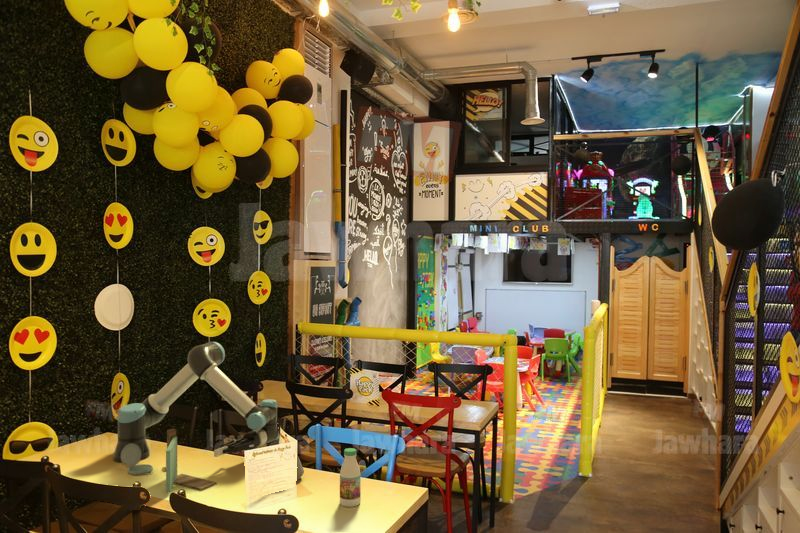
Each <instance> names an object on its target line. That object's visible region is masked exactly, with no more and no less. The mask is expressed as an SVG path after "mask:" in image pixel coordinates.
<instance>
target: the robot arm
mask: <svg viewBox="0 0 800 533" xmlns="http://www.w3.org/2000/svg"><path fill="white" fill-rule="evenodd" d="M225 352H226V351H225V349H224V347H223V346H222V345H221V344H220V343H219V342H217V341H208V342H206V343H204V344H200V345H196V346H194V347H193V348H191V349H190V350H189V352H188V354H187V364H185V365H184V366H183V367H182V368H181V369H180V370H179V371H178V372H177V373H176V374H175V375H174V376H173V377H172V378H171V379H170V380H169V381H168V382H167V383H165V385H164V386H163V387H162V388H160V389H159V390H158V391H157V392H156V393H152V394H150V395H148V396H147V398H145V399H144V400H143V401H142V402H141V403H140V402H134V403H130V404H125V405H122V406H120V408H119V409H118V410H117V416H116V420H117V443H116V446H115V449H114V451H113V457H112V458H113V461H115V462H117V463H122V461H121V452H122V449H123V448H124V447H125V446H126V445H128V444H131V443H133V444H136V445H138V446H139V448H140V450H141V459H140V461H142V460H145V459H147V458H148V457H150V449H149V448H150V447H149V444H148V443H147V440H146V430H147V429H148V428H150V427H151V426H154V425H157V424H159V423H160V422H161V421H162V420H164V418H165V416H166V414H167V413H168V412H169V410H170V409H169V408H170V406H171V405H172V404H173V403H174V402H175V401H176V400H177V399H178V398H180V396H182V394H184V393H185V392H186V390H187V389H189V388H190V387H191V386H192V385H193V384H194V383H195V382H197V380H198V379H200V380H204V381H206V383H208V385H209V386H210V387H212V388H213V389H214V390H215V391H216V392H217V393H218V394H219V396H221V397H222V398H223V399H224V400H225V401H226V402H227V403H228V404H229V405H230V406H231V407H232V408H233V409H234V410H236V411H237V412H238V413H239V414H240V415H241V416H242V417H243V418H244V420H246V424H247V427H248V428H249V429H250V430H251V431H248V432H245V433H244V434H243V436H242V437H239V438H238V439H235V438H234V437H232V438H230V440H228V441H225V443H222V445H221V447H218V448H215V449H214V450H213V457H215V458H218V457H221V456H224V455H226V454H229V453H230V454H231V453H233V454H235V453H239V452H242V451H247V450H253V449H256V448H259V447H261V446H264V445H265V444H268V443H271V442H274V441H277V440H278V439H280V437H279V431H278V429H279V427H277V424H278V403H277V400H275V399H272V398H269V399H262V400H261V401H260V405H259V406H258V405H257V404H256V403H255V402H254V401H253V400H252V399H251V398H250V397H249V396H248V395H247V394H246V393H245V392H244V391H243V390H242V389H240V388H239V386H238V385H237V384H235V383H234V382H233V381H232V380H231V379H230V378H229V376H227V374H225V373H224V372H223V371H222V370H221V369H220V368H218V366H219V365H221V364H222V363H223V362H224V360H225V357H226V353H225Z"/></svg>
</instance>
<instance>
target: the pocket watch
mask: <svg viewBox="0 0 800 533" xmlns="http://www.w3.org/2000/svg"><path fill="white" fill-rule="evenodd" d="M140 459H141V450H140V448H139V446H138V445H136V444H133V443H131V444H128V445H126V446H125V447H124V448H123V449H122V452H121V461H122V462H121V463H122V464H123V465H124V466H126V467H128V469H127V474H129V475H131V476H144V475H148V474H153V473H154V472H153V470H154V467H153V465H150V464H144V463H143V464H138V463H140V461H141V460H140Z"/></svg>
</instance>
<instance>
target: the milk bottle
mask: <svg viewBox="0 0 800 533" xmlns="http://www.w3.org/2000/svg"><path fill="white" fill-rule="evenodd" d="M343 456H344V460H343V462H342V464H341V468H340V472H339V503H340V505H341V506H342V507H346V508H353V507H357V506H359V505H360V504H361V502H362V500H361V499H362V498H361V494H362V493H361V489H362V488H361V486H362V484H361V481H362V480H361V477H362V476H361V469H360V466H359V463H358V461H357V449H355V448H352V447H348V448H345V449H344V450H343Z"/></svg>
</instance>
